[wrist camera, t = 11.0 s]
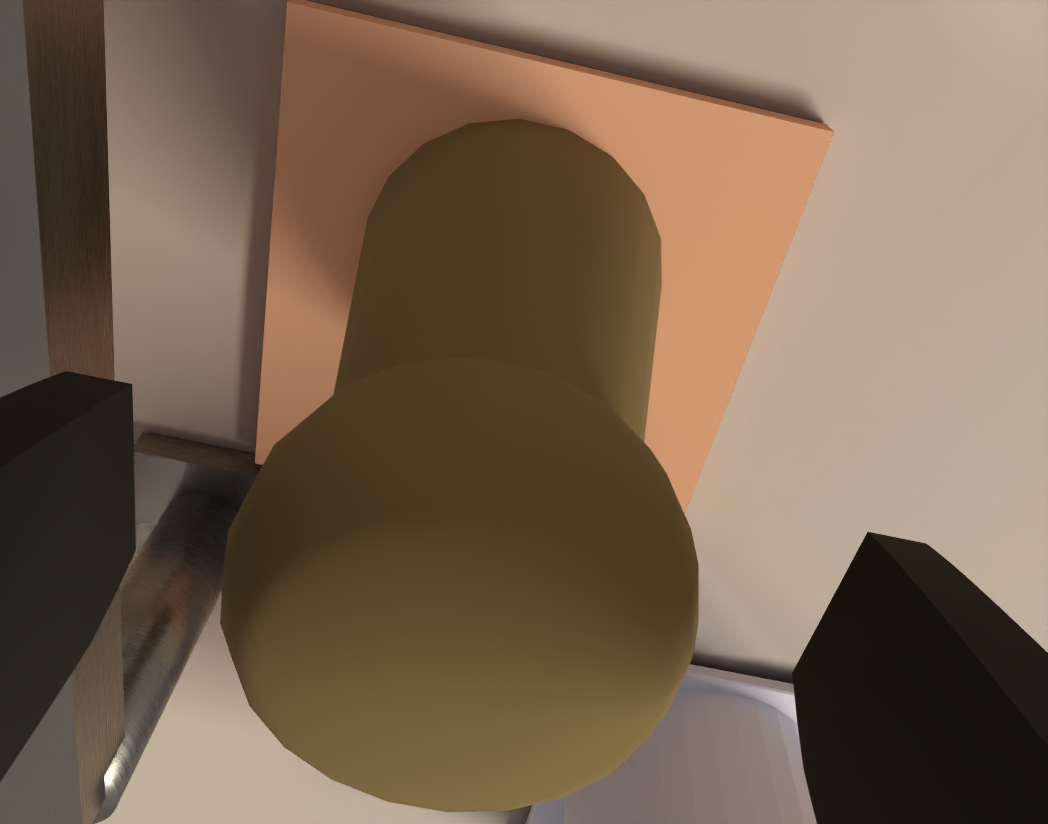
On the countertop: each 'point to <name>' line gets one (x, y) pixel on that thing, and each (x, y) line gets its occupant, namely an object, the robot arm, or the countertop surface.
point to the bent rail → (87, 348)
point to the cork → (476, 494)
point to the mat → (547, 98)
